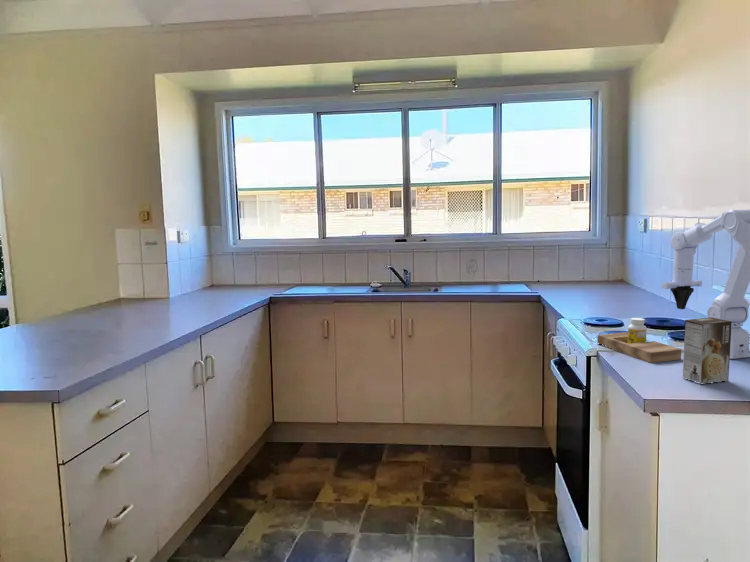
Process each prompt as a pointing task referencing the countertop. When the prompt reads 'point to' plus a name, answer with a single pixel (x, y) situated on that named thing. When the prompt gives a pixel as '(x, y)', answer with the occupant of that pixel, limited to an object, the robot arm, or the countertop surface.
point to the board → (640, 348)
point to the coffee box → (707, 350)
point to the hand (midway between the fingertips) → (680, 308)
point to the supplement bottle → (637, 331)
